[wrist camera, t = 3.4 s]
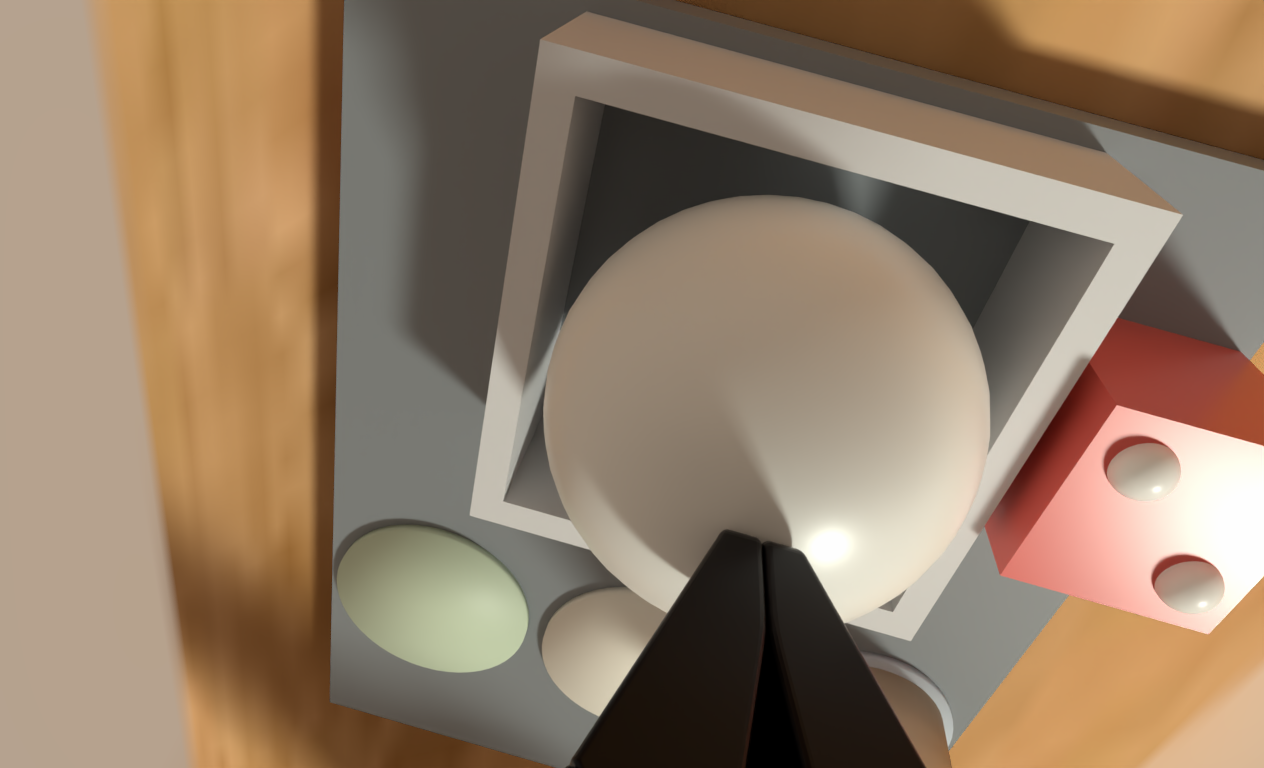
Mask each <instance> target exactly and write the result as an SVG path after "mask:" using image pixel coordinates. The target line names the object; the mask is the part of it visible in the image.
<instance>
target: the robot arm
mask: <svg viewBox="0 0 1264 768" xmlns="http://www.w3.org/2000/svg"><path fill="white" fill-rule="evenodd" d="M565 768H926V766H925V764H924V762H923V761H922V759H921V757H920V755H919V754H918V752H917V750H916V748H915V747H914V745H913V743H912V741H911V740H910V738H909V736H908V734H907V733H906V731H905V729H904V727H903V726H902V724H901V722H900V720H899V719H898V717H897V715H896V713H895V712H894V710H893V708H892V706H891V705H890V703H889V701H888V699H887V698H886V696H885V694H884V692H883V690H882V689H881V687H880V685H879V683H878V682H877V680H876V678H875V676H874V675H873V673H872V671H871V669H870V668H869V666H868V664H867V662H866V661H865V659H864V657H863V655H862V654H861V652H860V650H859V648H858V647H857V645H856V643H855V641H854V640H853V638H852V636H851V634H850V633H849V631H848V629H847V627H846V626H845V624H844V622H843V620H842V619H841V617H840V615H839V613H838V612H837V610H836V608H835V606H834V604H833V603H832V601H831V599H830V597H829V596H828V594H827V592H826V590H825V589H824V587H823V585H822V583H821V582H820V580H819V578H818V576H817V575H816V573H815V571H814V569H813V568H812V566H811V564H810V562H809V561H808V559H807V557H806V556H805V554H804V553H803V552H802V551H801V550H799V549H796V548H793V547H789V546H786V545H782V544H779V543H775V542H772V541H766V542H763V543H762V544H761V541H760V540H759V539H758V538H756V537H754V536H750V535H747V534H743V533H740V532H736V531H733V530H729V529H725V530H723V531H721V532H720V534H719V535H718V537H717V538H716V540H715V541H714V543H713V544H712V546H711V547H710V549H709V550H708V552H707V553H706V555H705V556H704V558H703V559H702V561H701V562H700V564H699V566H698V567H697V569H696V570H695V572H694V573H693V575H692V576H691V578H690V579H689V581H688V582H687V584H686V585H685V587H684V588H683V590H682V591H681V593H680V594H679V596H678V597H677V599H676V601H675V602H674V604H673V605H672V607H671V608H670V610H669V611H668V613H667V614H666V616H665V617H664V619H663V620H662V622H661V623H660V625H659V626H658V628H657V629H656V631H655V632H654V634H653V636H652V637H651V639H650V640H649V642H648V643H647V645H646V646H645V648H644V649H643V651H642V652H641V654H640V655H639V657H638V658H637V660H636V661H635V663H634V664H633V666H632V667H631V669H630V671H629V672H628V674H627V675H626V677H625V678H624V680H623V681H622V683H621V684H620V686H619V687H618V689H617V690H616V692H615V693H614V695H613V696H612V698H611V699H610V701H609V702H608V704H607V706H606V707H605V709H604V710H603V712H602V713H601V715H600V716H599V718H598V719H597V721H596V722H595V724H594V725H593V727H592V728H591V730H590V731H589V733H588V734H587V736H586V737H585V739H584V741H583V742H582V744H581V745H580V747H579V748H578V750H577V751H576V753H575V754H574V756H573V757H572V759H571V761H570V765H568V766H566V767H565Z"/></svg>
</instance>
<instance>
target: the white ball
mask: <svg viewBox="0 0 1264 768" xmlns="http://www.w3.org/2000/svg"><path fill="white" fill-rule="evenodd" d="M543 418H544V435H545V443H546V450H547V455H548V461H549V466H550V471H551V473H552V476H553V479H554V482H555V485H556V488H557V490H558V493H559V496H560V498H561V501H562V504H563V506H564V508H565V510H566V512H567V514H568V516H569V518H570V520H571V522H572V524H573V525H574V527H575V528H576V530H577V531H578V533H579V534H580V536H581V537H582V538H583V540H584V541H585V543H586V544H587V546H588V547H589V548H590V550H591V551H592V553H593V554H594V555H595V556H596V558H597V559H598V560H599V561H600V562H601V563H602V564H603V565H604V566H605V568H606V569H607V570H608V571H610V572H611V573H612V574H613V575H614V576H615V577H616V578H617V579H619V580H620V581H621V582H622V583H623V584H624V585H626V586H627V587H628V588H629V589H630V590H632V591H633V592H634V593H636V594H637V595H639V596H640V597H642V598H643V599H644V600H646V601H647V602H649V603H650V604H652V605H654V606H656V607H657V608H659V609H661V610H663V611H665V612H666V613H668V611H669V610H670V608H671V607H672V605H673V604H674V602H675V601H676V599H677V597H678V596H679V594H680V593H681V591H682V590H683V588H684V587H685V585H686V584H687V582H688V581H689V579H690V578H691V576H692V575H693V573H694V572H695V570H696V569H697V567H698V566H699V564H700V562H701V561H702V559H703V558H704V556H705V555H706V553H707V552H708V550H709V549H710V547H711V546H712V544H713V543H714V541H715V540H716V538H717V537H718V535H719V534H720V532H721V531H723V530H725V529H729V530H733V531H736V532H740V533H743V534H747V535H750V536H754V537H756V538H758V539H759V540H760V541H761V544H762V543H763V542H766V541H772V542H775V543H779V544H782V545H786V546H789V547H793V548H796V549H799V550H801V551H802V552H803V553H804V554H805V556H806V557H807V559H808V561H809V562H810V564H811V566H812V568H813V569H814V571H815V573H816V575H817V576H818V578H819V580H820V582H821V583H822V585H823V587H824V589H825V590H826V592H827V594H828V596H829V597H830V599H831V601H832V603H833V604H834V606H835V608H836V610H837V612H838V613H839V615H840V617H841V619H842V620H843V622H844V623H847V622H850V621H852V620H854V619H856V618H859V617H861V616H863V615H865V614H867V613H869V612H871V611H873V610H875V609H877V608H878V607H880V606H882V605H883V604H885V603H887V602H888V601H890V600H892V599H893V598H895V597H897V596H898V595H900V594H901V593H902V592H903V591H905V590H906V589H907V588H908V587H910V586H911V585H912V584H914V583H915V582H916V581H917V580H918V579H919V578H920V577H921V576H922V575H923V574H924V573H925V572H926V571H927V570H928V569H929V567H930V566H931V565H932V564H933V563H934V562H935V561H936V560H937V559H938V558H939V557H940V556H941V555H942V554H943V553H944V551H945V550H946V548H947V547H948V546H949V544H950V543H951V541H952V540H953V539H954V537H955V536H956V534H957V532H958V531H959V529H960V527H961V525H962V523H963V521H964V520H965V518H966V516H967V514H968V512H969V510H970V508H971V506H972V504H973V502H974V500H975V497H976V494H977V491H978V488H979V485H980V482H981V479H982V475H983V471H984V468H985V464H986V460H987V453H988V446H989V440H990V392H989V386H988V381H987V376H986V371H985V366H984V362H983V358H982V355H981V351H980V348H979V346H978V343H977V340H976V337H975V335H974V332H973V329H972V327H971V325H970V323H969V321H968V319H967V317H966V316H965V314H964V312H963V310H962V309H961V307H960V305H959V303H958V302H957V300H956V298H955V297H954V295H953V293H952V292H951V290H950V289H949V287H948V286H947V285H946V284H945V282H944V281H943V280H942V279H941V277H940V276H939V275H938V274H937V272H936V271H935V270H934V269H933V267H931V266H930V265H929V264H928V263H927V262H926V261H925V260H924V259H923V258H922V257H921V256H920V255H919V254H917V253H916V252H915V251H914V250H913V249H912V248H911V247H910V246H908V245H907V244H906V243H905V242H904V241H902V240H901V239H899V238H898V237H896V236H895V235H893V234H892V233H891V232H889V231H888V230H886V229H885V228H883V227H882V226H880V225H879V224H877V223H875V222H873V221H871V220H869V219H867V218H865V217H863V216H861V215H859V214H857V213H855V212H852V211H849V210H846V209H843V208H840V207H837V206H835V205H832V204H829V203H825V202H820V201H815V200H811V199H806V198H801V197H793V196H780V195H752V196H737V197H732V198H726V199H720V200H715V201H710V202H707V203H703V204H700V205H697V206H694V207H691V208H687V209H684V210H682V211H680V212H678V213H676V214H673V215H671V216H669V217H667V218H665V219H663V220H660V221H658V222H657V223H655V224H654V225H652V226H651V227H649V228H647V229H646V230H644V231H643V232H641V233H640V234H638V235H636V236H635V237H634V238H632V239H631V240H630V241H628V242H627V243H626V244H625V245H624V246H623V247H621V248H620V249H619V250H618V251H617V252H615V253H614V254H613V255H612V256H611V257H610V258H608V259H607V261H606V262H605V263H604V264H603V265H602V266H601V267H600V268H599V270H598V271H597V272H596V273H595V274H594V275H593V276H592V277H591V279H590V280H589V282H588V283H587V284H586V286H585V287H584V289H583V290H582V292H581V293H580V295H579V296H578V298H577V299H576V301H575V302H574V304H573V306H572V307H571V309H570V310H569V312H568V314H567V317H566V319H565V321H564V323H563V325H562V328H561V330H560V332H559V335H558V337H557V340H556V343H555V346H554V349H553V352H552V356H551V360H550V363H549V367H548V371H547V379H546V388H545V397H544V406H543Z"/></svg>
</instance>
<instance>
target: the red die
mask: <svg viewBox="0 0 1264 768" xmlns="http://www.w3.org/2000/svg"><path fill="white" fill-rule="evenodd" d="M985 529H986V532H987V536H988V539H989V542H990V545H991V548H992V552H993V555H994V558H995V561H996V564H997V567H998V571H999V574H1000V576H1004V577H1008V578H1011V579H1015V580H1018V581H1022V582H1025V583H1029V584H1032V585H1036V586H1039V587H1043V588H1046V589H1050V590H1054V591H1057V592H1061V593H1064V594H1068V595H1071V596H1075V597H1078V598H1082V599H1085V600H1089V601H1092V602H1096V603H1099V604H1103V605H1107V606H1110V607H1114V608H1117V609H1121V610H1124V611H1128V612H1131V613H1135V614H1138V615H1142V616H1145V617H1149V618H1153V619H1156V620H1160V621H1163V622H1167V623H1170V624H1174V625H1177V626H1181V627H1184V628H1188V629H1191V630H1195V631H1199V632H1202V633H1206V634H1209V633H1210V632H1211V631H1212V630H1213V629H1214V628H1215V627H1216V626H1217V625H1218V624H1219V622H1220V621H1221V620H1222V619H1223V618H1224V617H1225V616H1226V615H1227V614H1228V613H1229V612H1230V611H1231V610H1232V609H1233V608H1234V607H1235V606H1236V605H1237V604H1238V602H1239V601H1240V600H1241V599H1242V598H1243V597H1244V596H1245V595H1246V594H1247V593H1248V592H1249V591H1250V590H1251V589H1252V588H1253V587H1254V586H1255V585H1256V584H1257V582H1258V581H1259V580H1260V579H1261V578H1262V577H1263V576H1264V375H1263V374H1262V373H1261V372H1260V371H1259V370H1258V369H1257V368H1256V366H1255V365H1254V364H1253V363H1252V362H1251V361H1250V360H1249V359H1248V358H1247V357H1246V356H1245V355H1244V354H1243V353H1242V352H1240V351H1237V350H1233V349H1229V348H1226V347H1222V346H1218V345H1215V344H1211V343H1208V342H1204V341H1200V340H1197V339H1193V338H1190V337H1186V336H1182V335H1179V334H1175V333H1171V332H1168V331H1164V330H1161V329H1157V328H1153V327H1150V326H1146V325H1142V324H1139V323H1135V322H1132V321H1128V320H1124V319H1121V318H1117V319H1116V321H1115V322H1114V324H1113V326H1112V327H1111V329H1110V330H1109V332H1108V333H1107V335H1106V337H1105V338H1104V340H1103V341H1102V343H1101V344H1100V346H1099V347H1098V349H1097V351H1096V352H1095V354H1094V355H1093V357H1092V358H1091V360H1090V362H1089V363H1088V365H1087V366H1086V368H1085V369H1084V371H1083V373H1082V374H1081V376H1080V377H1079V379H1078V380H1077V382H1076V383H1075V385H1074V387H1073V388H1072V390H1071V391H1070V393H1069V394H1068V396H1067V398H1066V399H1065V401H1064V402H1063V404H1062V405H1061V407H1060V408H1059V410H1058V412H1057V413H1056V415H1055V416H1054V418H1053V419H1052V421H1051V423H1050V424H1049V426H1048V427H1047V429H1046V430H1045V432H1044V434H1043V435H1042V437H1041V438H1040V440H1039V441H1038V443H1037V444H1036V446H1035V448H1034V449H1033V451H1032V452H1031V454H1030V455H1029V457H1028V459H1027V460H1026V462H1025V463H1024V465H1023V466H1022V468H1021V470H1020V471H1019V473H1018V474H1017V476H1016V477H1015V479H1014V480H1013V482H1012V484H1011V485H1010V487H1009V488H1008V490H1007V491H1006V493H1005V495H1004V496H1003V498H1002V499H1001V501H1000V502H999V504H998V505H997V507H996V509H995V510H994V512H993V513H992V515H991V516H990V518H989V520H988V521H987V523H986V524H985Z"/></svg>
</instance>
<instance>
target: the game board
mask: <svg viewBox="0 0 1264 768" xmlns="http://www.w3.org/2000/svg"><path fill="white" fill-rule="evenodd" d="M752 195H780V196H793V197H801V198H806V199H811V200H815V201H820V202H825V203H829V204H832V205H835V206H837V207H840V208H843V209H846V210H849V211H852V212H855V213H857V214H859V215H861V216H863V217H865V218H867V219H869V220H871V221H873V222H875V223H877V224H879V225H880V226H882V227H883V228H885V229H886V230H888V231H889V232H891V233H892V234H893V235H895V236H896V237H898V238H899V239H901V240H902V241H904V242H905V243H906V244H907V245H908V246H910V247H911V248H912V249H913V250H914V251H915V252H916V253H917V254H919V255H920V256H921V257H922V258H923V259H924V260H925V261H926V262H927V263H928V264H929V265H930V266H931V267H933V269H934V270H935V271H936V272H937V274H938V275H939V276H940V277H941V279H942V280H943V281H944V282H945V284H946V285H947V286H948V287H949V289H950V290H951V292H952V293H953V295H954V297H955V298H956V300H957V302H958V303H959V305H960V307H961V309H962V310H963V312H964V314H965V316H966V317H967V319H968V321H969V323H970V325H971V327H972V329H973V332H974V335H975V337H976V340H977V343H978V346H979V348H980V351H981V355H982V358H983V362H984V366H985V371H986V376H987V381H988V386H989V392H990V440H989V446H988V453H987V460H986V464H985V468H984V471H983V475H982V479H981V482H980V485H979V488H978V491H977V494H976V497H975V500H974V502H973V504H972V506H971V508H970V510H969V512H968V514H967V516H966V518H965V520H964V521H963V523H962V525H961V527H960V529H959V531H958V532H957V534H956V536H955V537H954V539H953V540H952V541H951V543H950V544H949V546H948V547H947V548H946V550H945V551H944V553H943V554H942V555H941V556H940V557H939V558H938V559H937V560H936V561H935V562H934V563H933V564H932V565H931V566H930V567H929V569H928V570H927V571H926V572H925V573H924V574H923V575H922V576H921V577H920V578H919V579H918V580H917V581H916V582H915V583H914V584H912V585H911V586H910V587H908V588H907V589H906V590H905V591H903V592H902V593H901V594H900V595H898V596H897V597H895V598H893V599H892V600H890V601H888V602H887V603H885V604H883V605H882V606H880V607H878V608H877V609H875V610H873V611H871V612H869V613H867V614H865V615H863V616H861V617H859V618H856V619H854V620H852V621H850V622H847V623H844V624H845V626H846V627H847V629H848V631H849V633H850V634H851V636H852V638H853V640H854V641H855V643H856V645H857V647H858V648H859V650H860V652H861V654H862V655H863V657H864V659H865V661H866V662H867V664H868V666H869V667H873V668H878V669H882V670H885V671H888V672H891V673H894V674H896V675H899V676H901V677H903V678H905V679H907V680H909V681H911V682H912V683H914V684H915V685H917V686H918V687H920V688H921V689H922V690H923V691H925V692H926V693H927V694H928V695H929V696H930V697H931V699H932V700H933V701H934V702H935V704H936V705H937V707H938V709H939V710H940V713H941V716H942V719H943V724H944V729H945V734H946V740H947V745H948V750H950V749H951V748H952V746H953V745H954V744H955V742H956V741H957V740H958V739H959V737H960V736H961V735H962V733H963V732H964V731H965V729H966V728H967V727H968V726H969V724H970V723H971V722H972V720H973V719H974V718H975V716H976V715H977V714H978V713H979V711H980V710H981V709H982V707H983V706H984V705H985V703H986V702H987V701H988V700H989V698H990V697H991V696H992V694H993V693H994V692H995V690H996V689H997V688H998V687H999V685H1000V684H1001V683H1002V681H1003V680H1004V679H1005V677H1006V676H1007V675H1008V674H1009V672H1010V671H1011V670H1012V668H1013V667H1014V666H1015V664H1016V663H1017V662H1018V661H1019V659H1020V658H1021V657H1022V655H1023V654H1024V653H1025V652H1026V650H1027V649H1028V648H1029V646H1030V645H1031V644H1032V642H1033V641H1034V640H1035V639H1036V637H1037V636H1038V635H1039V633H1040V632H1041V631H1042V629H1043V628H1044V627H1045V626H1046V624H1047V623H1048V622H1049V620H1050V619H1051V618H1052V616H1053V615H1054V614H1055V613H1056V611H1057V610H1058V609H1059V607H1060V606H1061V605H1062V603H1063V602H1064V601H1065V600H1066V598H1067V597H1068V596H1069V595H1068V594H1064V593H1061V592H1057V591H1054V590H1050V589H1046V588H1043V587H1039V586H1036V585H1032V584H1029V583H1025V582H1022V581H1018V580H1015V579H1011V578H1008V577H1004V576H1000V574H999V571H998V567H997V564H996V561H995V558H994V555H993V552H992V548H991V545H990V542H989V539H988V536H987V532H986V529H985V524H986V523H987V521H988V520H989V518H990V516H991V515H992V513H993V512H994V510H995V509H996V507H997V505H998V504H999V502H1000V501H1001V499H1002V498H1003V496H1004V495H1005V493H1006V491H1007V490H1008V488H1009V487H1010V485H1011V484H1012V482H1013V480H1014V479H1015V477H1016V476H1017V474H1018V473H1019V471H1020V470H1021V468H1022V466H1023V465H1024V463H1025V462H1026V460H1027V459H1028V457H1029V455H1030V454H1031V452H1032V451H1033V449H1034V448H1035V446H1036V444H1037V443H1038V441H1039V440H1040V438H1041V437H1042V435H1043V434H1044V432H1045V430H1046V429H1047V427H1048V426H1049V424H1050V423H1051V421H1052V419H1053V418H1054V416H1055V415H1056V413H1057V412H1058V410H1059V408H1060V407H1061V405H1062V404H1063V402H1064V401H1065V399H1066V398H1067V396H1068V394H1069V393H1070V391H1071V390H1072V388H1073V387H1074V385H1075V383H1076V382H1077V380H1078V379H1079V377H1080V376H1081V374H1082V373H1083V371H1084V369H1085V368H1086V366H1087V365H1088V363H1089V362H1090V360H1091V358H1092V357H1093V355H1094V354H1095V352H1096V351H1097V349H1098V347H1099V346H1100V344H1101V343H1102V341H1103V340H1104V338H1105V337H1106V335H1107V333H1108V332H1109V330H1110V329H1111V327H1112V326H1113V324H1114V322H1115V321H1116V319H1117V318H1121V319H1124V320H1128V321H1132V322H1135V323H1139V324H1142V325H1146V326H1150V327H1153V328H1157V329H1161V330H1164V331H1168V332H1171V333H1175V334H1179V335H1182V336H1186V337H1190V338H1193V339H1197V340H1200V341H1204V342H1208V343H1211V344H1215V345H1218V346H1222V347H1226V348H1229V349H1233V350H1237V351H1240V352H1242V353H1243V354H1244V355H1245V356H1246V357H1247V358H1248V359H1249V360H1250V359H1251V358H1252V357H1253V355H1254V354H1255V353H1256V351H1257V350H1258V349H1259V348H1260V346H1261V345H1262V344H1263V342H1264V160H1262V159H1258V158H1255V157H1251V156H1247V155H1244V154H1240V153H1236V152H1233V151H1229V150H1225V149H1222V148H1218V147H1214V146H1210V145H1207V144H1203V143H1199V142H1196V141H1192V140H1188V139H1185V138H1181V137H1177V136H1174V135H1170V134H1166V133H1163V132H1159V131H1155V130H1152V129H1148V128H1144V127H1140V126H1137V125H1133V124H1129V123H1126V122H1122V121H1118V120H1115V119H1111V118H1107V117H1104V116H1100V115H1096V114H1093V113H1089V112H1085V111H1081V110H1078V109H1074V108H1070V107H1067V106H1063V105H1059V104H1056V103H1052V102H1048V101H1045V100H1041V99H1037V98H1034V97H1030V96H1026V95H1023V94H1019V93H1015V92H1011V91H1008V90H1004V89H1000V88H997V87H993V86H989V85H986V84H982V83H978V82H975V81H971V80H967V79H964V78H960V77H956V76H953V75H949V74H945V73H941V72H938V71H934V70H930V69H927V68H923V67H919V66H916V65H912V64H908V63H905V62H901V61H897V60H894V59H890V58H886V57H883V56H879V55H875V54H871V53H868V52H864V51H860V50H857V49H853V48H849V47H846V46H842V45H838V44H835V43H831V42H827V41H824V40H820V39H816V38H813V37H809V36H805V35H801V34H798V33H794V32H790V31H787V30H783V29H779V28H776V27H772V26H768V25H765V24H761V23H757V22H754V21H750V20H746V19H742V18H739V17H735V16H731V15H728V14H724V13H720V12H717V11H713V10H709V9H706V8H702V7H698V6H695V5H691V4H687V3H684V2H680V1H676V0H344V29H343V78H342V127H341V175H340V224H339V273H338V321H337V370H336V419H335V467H334V516H333V565H332V613H331V662H330V702H331V703H335V704H338V705H341V706H345V707H348V708H352V709H355V710H359V711H362V712H366V713H369V714H372V715H376V716H379V717H383V718H386V719H390V720H393V721H397V722H400V723H403V724H407V725H410V726H414V727H417V728H421V729H424V730H428V731H431V732H434V733H438V734H441V735H445V736H448V737H452V738H455V739H459V740H462V741H465V742H469V743H472V744H476V745H479V746H483V747H486V748H490V749H493V750H496V751H500V752H503V753H507V754H510V755H514V756H517V757H521V758H524V759H527V760H531V761H534V762H538V763H541V764H545V765H548V766H552V767H555V768H565V767H566V766H568V765H570V761H571V759H572V757H573V756H574V754H575V753H576V751H577V750H578V748H579V747H580V745H581V744H582V742H583V741H584V739H585V737H586V736H587V734H588V733H589V731H590V730H591V728H592V727H593V725H594V724H595V722H596V721H597V719H598V718H599V716H600V715H601V713H602V712H603V710H604V709H605V707H606V706H607V704H608V702H609V701H610V699H611V698H612V696H613V695H614V693H615V692H616V690H617V689H618V687H619V686H620V684H621V683H622V681H623V680H624V678H625V677H626V675H627V674H628V672H629V671H630V669H631V667H632V666H633V664H634V663H635V661H636V660H637V658H638V657H639V655H640V654H641V652H642V651H643V649H644V648H645V646H646V645H647V643H648V642H649V640H650V639H651V637H652V636H653V634H654V632H655V631H656V629H657V628H658V626H659V625H660V623H661V622H662V620H663V619H664V617H665V616H666V614H667V613H666V612H665V611H663V610H661V609H659V608H657V607H656V606H654V605H652V604H650V603H649V602H647V601H646V600H644V599H643V598H642V597H640V596H639V595H637V594H636V593H634V592H633V591H632V590H630V589H629V588H628V587H627V586H626V585H624V584H623V583H622V582H621V581H620V580H619V579H617V578H616V577H615V576H614V575H613V574H612V573H611V572H610V571H608V570H607V569H606V568H605V566H604V565H603V564H602V563H601V562H600V561H599V560H598V559H597V558H596V556H595V555H594V554H593V553H592V551H591V550H590V548H589V547H588V546H587V544H586V543H585V541H584V540H583V538H582V537H581V536H580V534H579V533H578V531H577V530H576V528H575V527H574V525H573V524H572V522H571V520H570V518H569V516H568V514H567V512H566V510H565V508H564V506H563V504H562V501H561V498H560V496H559V493H558V490H557V488H556V485H555V482H554V479H553V476H552V473H551V471H550V466H549V461H548V455H547V450H546V443H545V435H544V418H543V406H544V397H545V388H546V379H547V371H548V367H549V363H550V360H551V356H552V352H553V349H554V346H555V343H556V340H557V337H558V335H559V332H560V330H561V328H562V325H563V323H564V321H565V319H566V317H567V314H568V312H569V310H570V309H571V307H572V306H573V304H574V302H575V301H576V299H577V298H578V296H579V295H580V293H581V292H582V290H583V289H584V287H585V286H586V284H587V283H588V282H589V280H590V279H591V277H592V276H593V275H594V274H595V273H596V272H597V271H598V270H599V268H600V267H601V266H602V265H603V264H604V263H605V262H606V261H607V259H608V258H610V257H611V256H612V255H613V254H614V253H615V252H617V251H618V250H619V249H620V248H621V247H623V246H624V245H625V244H626V243H627V242H628V241H630V240H631V239H632V238H634V237H635V236H636V235H638V234H640V233H641V232H643V231H644V230H646V229H647V228H649V227H651V226H652V225H654V224H655V223H657V222H658V221H660V220H663V219H665V218H667V217H669V216H671V215H673V214H676V213H678V212H680V211H682V210H684V209H687V208H691V207H694V206H697V205H700V204H703V203H707V202H710V201H715V200H720V199H726V198H732V197H737V196H752Z"/></svg>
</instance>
